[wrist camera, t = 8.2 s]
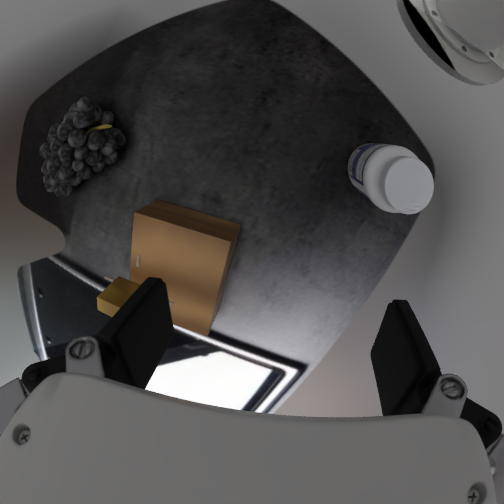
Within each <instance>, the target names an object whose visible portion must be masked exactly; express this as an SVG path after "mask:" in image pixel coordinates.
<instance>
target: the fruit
mask: <svg viewBox="0 0 504 504" xmlns="http://www.w3.org/2000/svg"><path fill="white" fill-rule="evenodd" d="M113 120H114V115H113V113H112V112H111V111H104V112H103V113H102V110H101V108H100V107H99V106H97V105H94V103H93V101H92V99H91V98H90V97H86V96H84V97H82V98H80V99H79V101H78V102H77V103H75V104H73V105H72V106H71V108H70V109H69V112H68V113H66V115H65V117H64V120H63V121H62V123H61V124H60V123H56V124H54V125H53V126H52V127H51V128H50V130H49V134H48V138H47V140H48V143H47V142H46V143H44V144H43V145H42V146H41V148H40V150H39V152H40V155H41V157H42V158H43V159H45V162H44V163H43V165H42V169H41V171H42V173H43V174H44V177H43V180H44V183H45V188H46V190H47V191H48V192H53V191H54V193H55V195H56V196H57V197H63V196H67V195H70V194H71V193H72V188H73V186H78V185H79V184H80V183H81V181H82V180H86V179H91V178H92V177H93V176H94V174H95V172H100V171H101V170H103V169H104V167H105V164H108V165H111V164H114V163H115V162H116V161H117V159H118V153H117V152H116V150H117V149H121V148H122V147H123V146H124V144H125V142H126V140H125V136H124V135H123V134H122V132H121V131H120V130H119V129H116V128H113V127H112V123H113ZM98 122H99V125H100V126H99V125H98ZM101 129H102V131H101Z"/></svg>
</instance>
